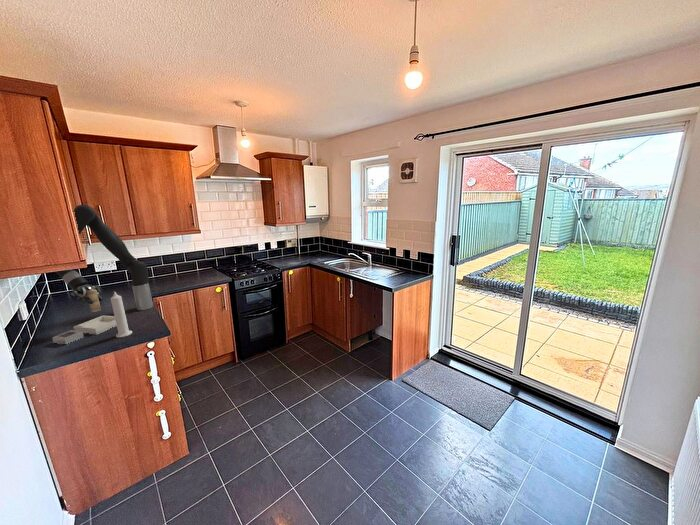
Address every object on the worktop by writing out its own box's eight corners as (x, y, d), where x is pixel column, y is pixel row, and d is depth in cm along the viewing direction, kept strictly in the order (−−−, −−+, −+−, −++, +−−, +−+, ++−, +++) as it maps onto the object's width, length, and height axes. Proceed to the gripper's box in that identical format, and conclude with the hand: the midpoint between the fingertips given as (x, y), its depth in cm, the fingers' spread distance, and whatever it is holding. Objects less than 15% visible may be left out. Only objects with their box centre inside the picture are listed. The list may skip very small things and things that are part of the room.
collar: (72, 336, 156) (70, 330, 156) (83, 337, 155) (82, 331, 154) (53, 343, 148) (52, 337, 148) (66, 344, 147) (64, 338, 146)
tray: (104, 320, 176) (102, 315, 175) (124, 322, 173) (123, 316, 172) (74, 332, 161) (73, 326, 160) (96, 334, 157) (95, 328, 157)
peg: (92, 309, 165) (88, 290, 163) (102, 308, 167) (97, 289, 165) (89, 312, 162) (84, 292, 159) (99, 311, 163) (94, 291, 161)
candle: (135, 331, 160) (126, 289, 154) (126, 337, 153) (116, 293, 147) (122, 331, 160) (112, 289, 154) (112, 337, 153) (102, 294, 147)
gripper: (63, 280, 155) (86, 301, 155) (91, 273, 168) (112, 293, 168) (58, 288, 157) (80, 310, 157) (86, 281, 170) (106, 301, 171)
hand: (96, 301), depth 163 cm, fingers closed on peg, 4 cm apart
